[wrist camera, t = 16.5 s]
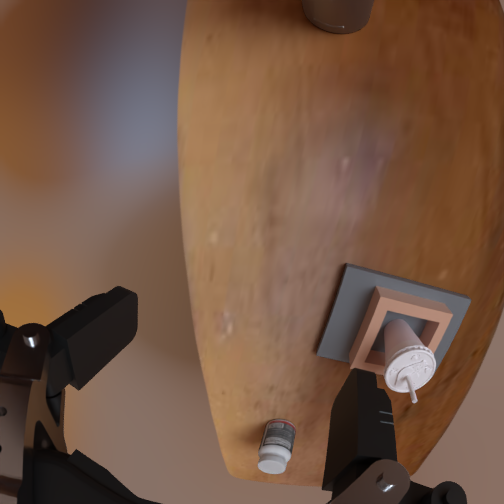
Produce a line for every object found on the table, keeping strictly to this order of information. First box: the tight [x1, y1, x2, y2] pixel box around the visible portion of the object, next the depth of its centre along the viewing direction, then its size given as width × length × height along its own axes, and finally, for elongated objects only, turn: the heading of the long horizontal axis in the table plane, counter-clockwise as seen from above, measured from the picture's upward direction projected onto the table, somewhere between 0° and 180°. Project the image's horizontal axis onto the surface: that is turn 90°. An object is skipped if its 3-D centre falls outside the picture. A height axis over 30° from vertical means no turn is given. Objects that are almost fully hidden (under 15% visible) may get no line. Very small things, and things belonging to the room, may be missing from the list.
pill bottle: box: [258, 419, 296, 474], centre depth 43 cm, size 6×6×10 cm
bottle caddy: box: [316, 263, 471, 378], centre depth 35 cm, size 14×20×5 cm
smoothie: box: [384, 319, 436, 403], centre depth 29 cm, size 6×6×14 cm
